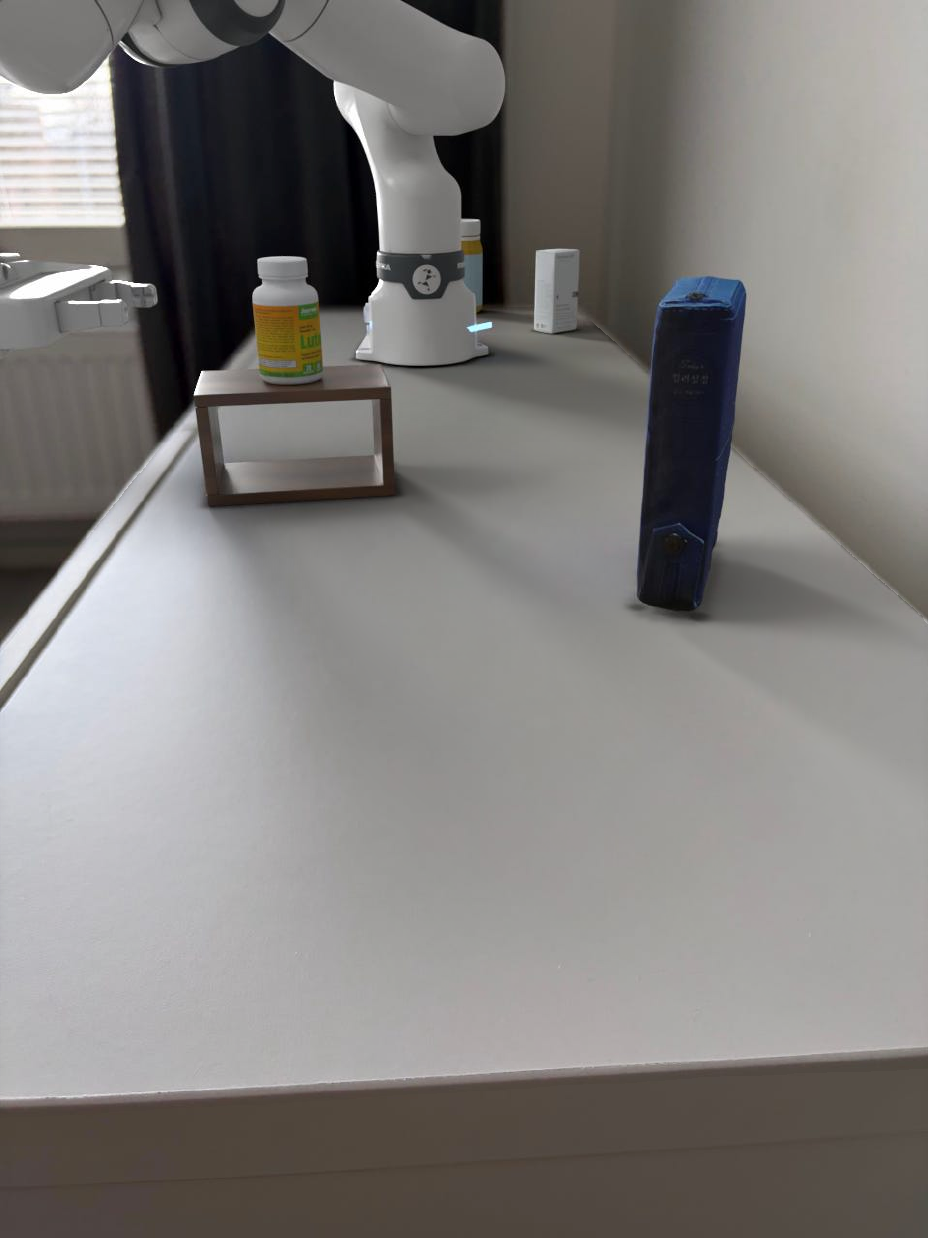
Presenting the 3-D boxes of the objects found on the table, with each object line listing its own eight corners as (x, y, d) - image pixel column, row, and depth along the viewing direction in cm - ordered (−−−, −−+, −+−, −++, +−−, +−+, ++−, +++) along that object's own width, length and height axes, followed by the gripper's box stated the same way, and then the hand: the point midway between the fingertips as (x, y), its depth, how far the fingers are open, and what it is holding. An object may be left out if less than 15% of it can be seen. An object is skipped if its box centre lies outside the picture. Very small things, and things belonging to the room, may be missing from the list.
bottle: (439, 313, 168) (438, 221, 162) (446, 307, 175) (446, 218, 168) (478, 314, 167) (479, 222, 161) (484, 308, 174) (485, 218, 167)
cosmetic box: (553, 334, 151) (556, 252, 146) (532, 330, 154) (534, 250, 149) (578, 329, 155) (582, 249, 149) (557, 325, 158) (560, 247, 152)
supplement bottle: (311, 387, 80) (301, 263, 75) (250, 384, 81) (237, 261, 76) (332, 373, 84) (324, 255, 80) (274, 370, 85) (263, 254, 81)
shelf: (214, 473, 90) (201, 370, 85) (385, 464, 92) (381, 364, 88) (207, 506, 82) (193, 395, 77) (395, 495, 84) (391, 386, 80)
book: (705, 624, 62) (745, 300, 53) (623, 613, 63) (648, 296, 54) (720, 542, 74) (754, 269, 65) (650, 535, 76) (675, 266, 67)
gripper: (-101, 281, 68) (97, 280, 68) (8, 250, 86) (164, 250, 87) (-79, 371, 71) (112, 369, 71) (22, 323, 89) (173, 322, 90)
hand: (141, 303), depth 79 cm, fingers open, 8 cm apart
